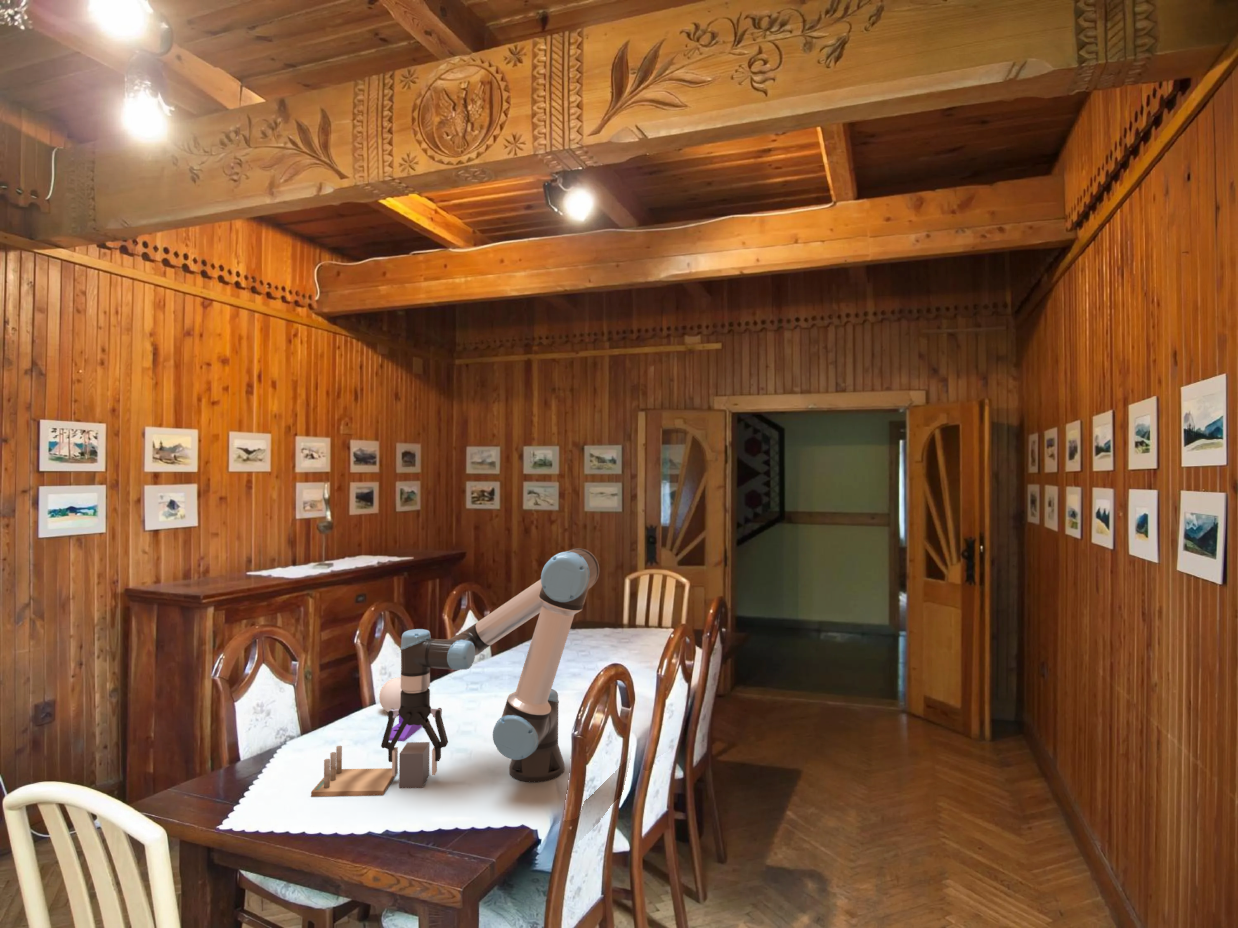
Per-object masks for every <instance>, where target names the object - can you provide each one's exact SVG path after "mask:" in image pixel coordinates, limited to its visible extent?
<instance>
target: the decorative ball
mask: <svg viewBox="0 0 1238 928" xmlns="http://www.w3.org/2000/svg"><path fill="white" fill-rule="evenodd" d="M401 691H402V689H401V677H395V678H391V679H389V680H388V681H386V682H384V684H383V686H382V687H381V689H380V692H379V699H378V700H379V705H380V706H381V707H382V709H383V710H384V711H385V712H387V713H388V712H389V711H390V710H391V709H392V708H394V709H400V706H401V705H400V702H401Z"/></svg>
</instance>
